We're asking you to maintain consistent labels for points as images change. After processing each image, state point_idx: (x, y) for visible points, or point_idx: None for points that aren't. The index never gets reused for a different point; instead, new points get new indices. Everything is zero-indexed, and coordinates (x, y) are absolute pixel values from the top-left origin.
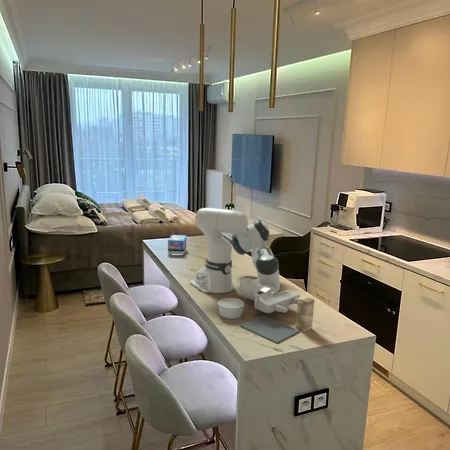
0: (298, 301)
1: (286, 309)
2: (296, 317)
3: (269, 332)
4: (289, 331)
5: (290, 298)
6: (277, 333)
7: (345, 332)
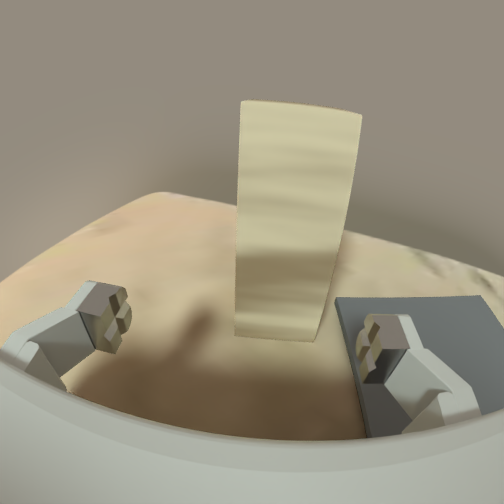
0: (355, 141)
1: (386, 316)
2: (329, 283)
3: (489, 358)
4: None
5: (70, 393)
6: (459, 335)
7: (176, 217)
